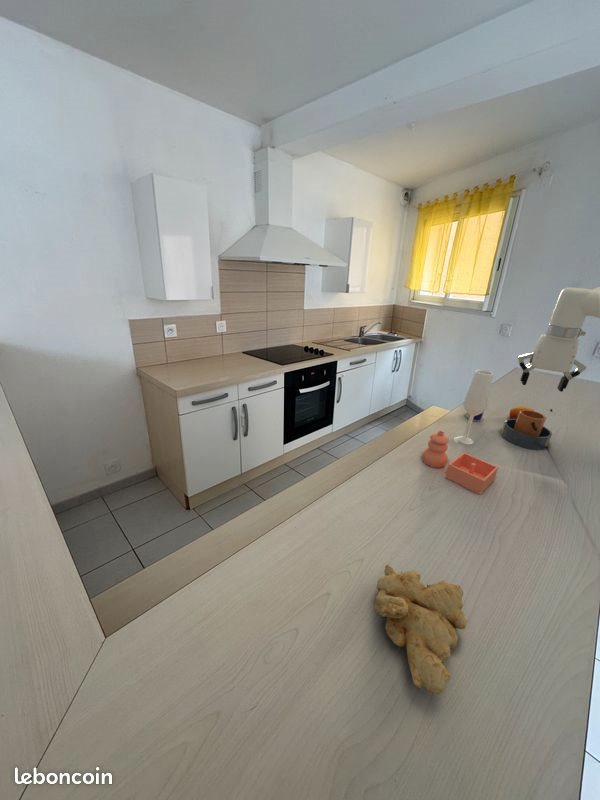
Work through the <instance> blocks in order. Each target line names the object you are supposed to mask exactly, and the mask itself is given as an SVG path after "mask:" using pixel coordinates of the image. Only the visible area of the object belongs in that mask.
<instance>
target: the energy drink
mask: <svg viewBox="0 0 600 800" xmlns="http://www.w3.org/2000/svg"><path fill="white" fill-rule="evenodd" d="M484 413H485V411H484V412H483V413H481V414H479V415H476V416H474V418H473V422H474V423H481V422H482V420H483V416H484ZM469 417H470V414H468V412H467V411H466V414H465V419H466V420H468V421H469ZM473 422H472V423H473Z"/></svg>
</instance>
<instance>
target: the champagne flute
mask: <svg viewBox="0 0 600 800" xmlns="http://www.w3.org/2000/svg"><path fill="white" fill-rule="evenodd" d="M493 378H494V373H493V372H492V371H490V370H487V369H486V370H485V369H476V370H475V371H474V374H473V377H472V379H471V383H470V385H469V387H468V390H467V392H466V395H465V397H464V400H463V402H462V404H463V408H464V409H465V412H466V413H467V412H468V414H470V417H469V420H468V421H467V425H466V428H465V432H464V435H459V436H455V437H453V441H454V443H456V444H457V445H459V443H461V444H465V445H473V444H474V440H473V439H471V438H470V437H469V434H470V431H471V428H472V424H473V418H474V416H476V415H479V414H481V413H483V412H484V413H485V412H486V410H487V409H488V405H489V400H490V394H491V389H492V384H493ZM484 413H483V414H484Z"/></svg>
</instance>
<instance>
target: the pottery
mask: <svg viewBox="0 0 600 800" xmlns="http://www.w3.org/2000/svg"><path fill="white" fill-rule="evenodd" d="M449 441H450V439H449V437H448V436H447V435H445V431H442V430H437V432H434V433H432V434H431V435H430V439H429V440H428V442H427V448H425V449H424V451H423V452H422V460H423V462H424V464H426V465H428V466H429V467H432V468H438V469H439V468H444V467H445V465H446V463H448V455H447V452H446V451H447V450H448V448H449V445H448V443H449ZM498 470H499V467H498V466H497V465H494V464H492V463H489V462H488V461H485V460H482V459H481V458H477V457H476V456H473V455H471V454H469V453H466V452H462V453H461V454H460V455H459V456H457V457H456V458H454V459H453V460H452V461H450V462H449V463H448V465H447V469H446V472H445V476H444V478H446V479H447V480H450V481H451V482H453V483H456V484H458V485H460V486H462V487H463V488H465V489H467V490H469V491H472V492H474V493H475V494H477V495H481V494H482V493H484V491H485V490H486V489H487V488H488V487H489V486H490V485H491V484H492V483H493V482H494V481H495V479H496V475H497V472H498Z"/></svg>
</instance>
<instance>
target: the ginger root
mask: <svg viewBox="0 0 600 800" xmlns="http://www.w3.org/2000/svg"><path fill="white" fill-rule="evenodd" d="M383 572H384V575H383V576H381V577H379V578H378V579H377V581H376V582H377V583H376V589H377V594H376V595H375V603H374V607H375V612H376V613H377V614H379V615H380V616H381V617H384V618H385V617H386V621H385V626H384V627H385V628H384V629H385V631H386V632H385V633H386V634H387V636H388V637H389V638H390V640H391V641H392V643H393V644H394V645H396V646H397V647H406V648H405V649H406V654H407V655H406V656H407V663H408V666H409V670H410V675H411V678H412V682H413V685H414V687H416V688H418V689H420V688H422V687H424V688H425V689H426V690H427V691H428V692H430V693H432V694H437V695H442V694H443V693H444V691H445V690H446V686H447V684H448V682H450V680H451V675H450V673H449V671H448V670H447V667H446V666H445V665H444V663H445V662H446V661H447V660H448V658H450V657H451V651H452V650H451V649H455V648H457V646H458V645H457V643H458V640H459V636H458V633H457V629H459V630H466V627H467V618H466V616H465V613H464V612H463V610H462V608H464V601H463V596H464V590H463V588H462V587H461V586H460V585H457V584H454V583H451V582H446V581H445V580H443V579H442V580H441V581H438V582H436V583H432V584H426V586H425V585H424V584H423V582H422V581H421V574H420V573H418V572H416V571H415V570H409V571H405V572H404V571H400V572H398V573H397V572H396V570H395V569H394V568H393V567H392V566H390V565H389V564H386V565H385V566H384V571H383Z"/></svg>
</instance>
